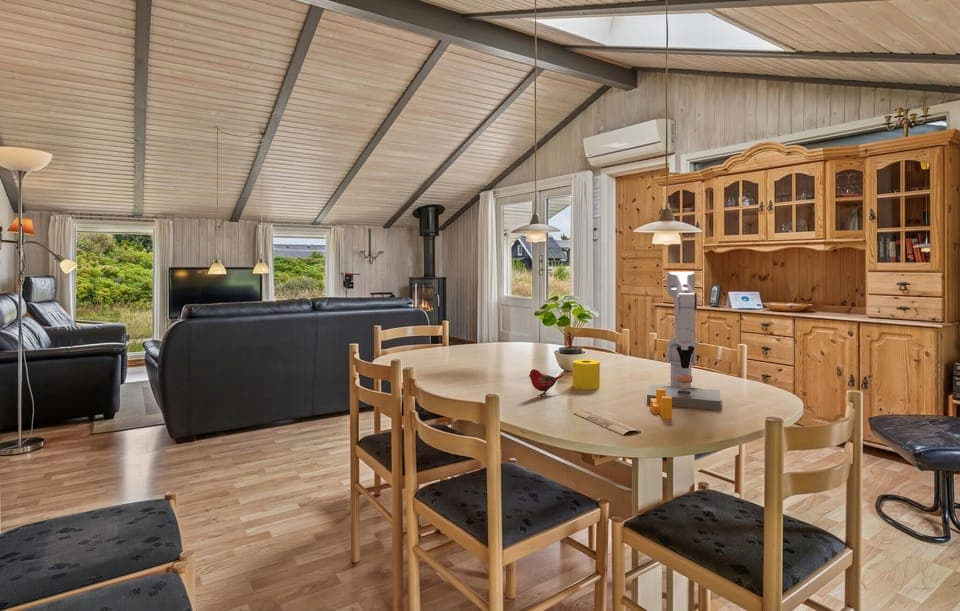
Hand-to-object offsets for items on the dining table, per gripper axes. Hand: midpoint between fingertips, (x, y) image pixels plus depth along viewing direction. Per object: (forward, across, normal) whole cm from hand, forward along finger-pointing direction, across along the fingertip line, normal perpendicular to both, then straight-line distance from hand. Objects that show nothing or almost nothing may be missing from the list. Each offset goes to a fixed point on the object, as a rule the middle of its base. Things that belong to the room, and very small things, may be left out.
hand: (685, 368), depth 181 cm
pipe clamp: (+11, -22, +6) cm, 25 cm away
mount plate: (+10, -4, 0) cm, 11 cm away
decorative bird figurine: (+11, -12, +45) cm, 48 cm away
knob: (+6, -4, 0) cm, 8 cm away
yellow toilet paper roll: (+11, +6, +35) cm, 37 cm away
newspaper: (+12, -38, +20) cm, 45 cm away
